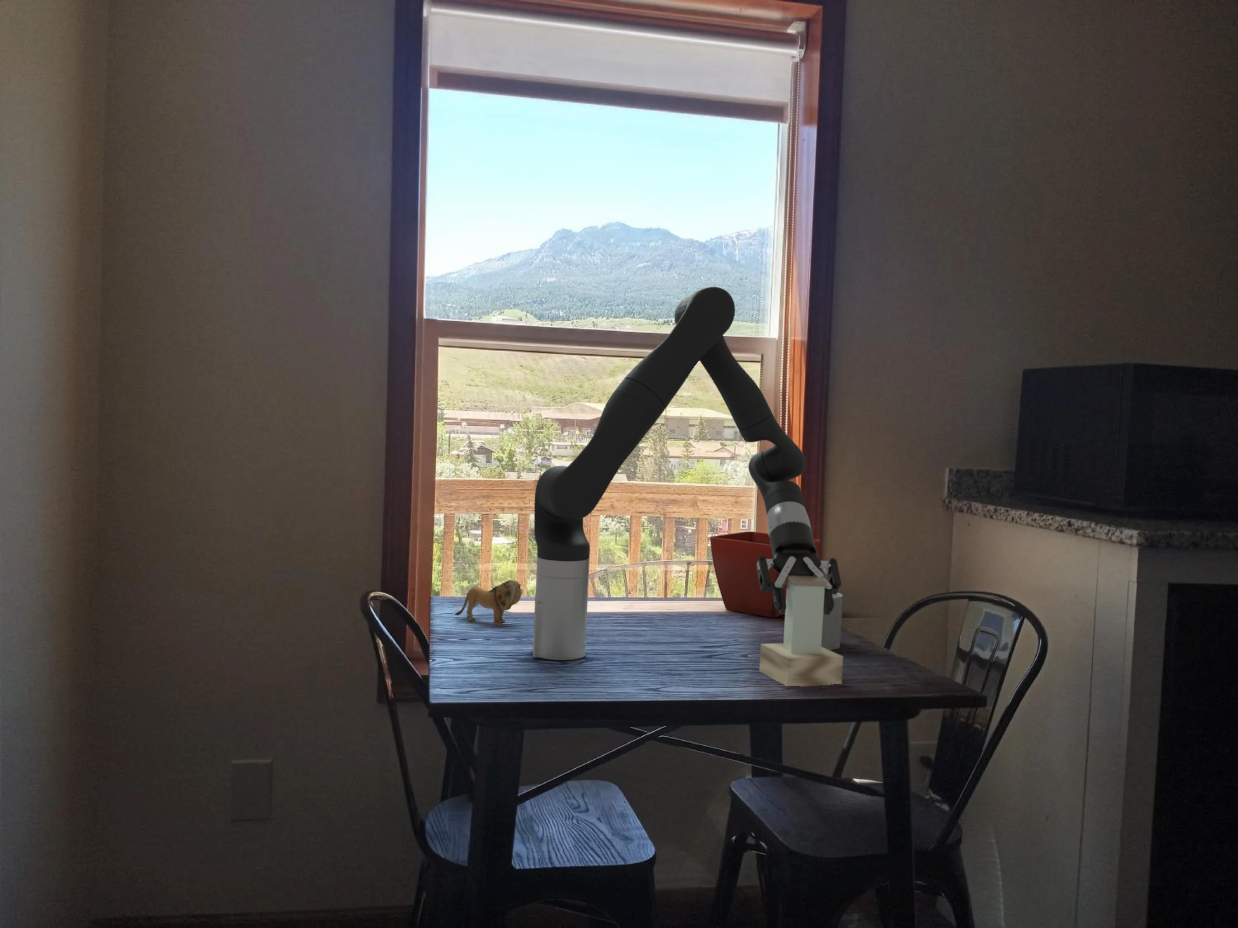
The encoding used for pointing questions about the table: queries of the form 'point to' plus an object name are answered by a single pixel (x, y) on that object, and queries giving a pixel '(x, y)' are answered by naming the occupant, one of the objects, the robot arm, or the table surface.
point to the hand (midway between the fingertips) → (805, 611)
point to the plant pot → (745, 572)
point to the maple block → (800, 666)
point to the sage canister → (804, 614)
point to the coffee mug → (832, 625)
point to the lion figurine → (493, 599)
